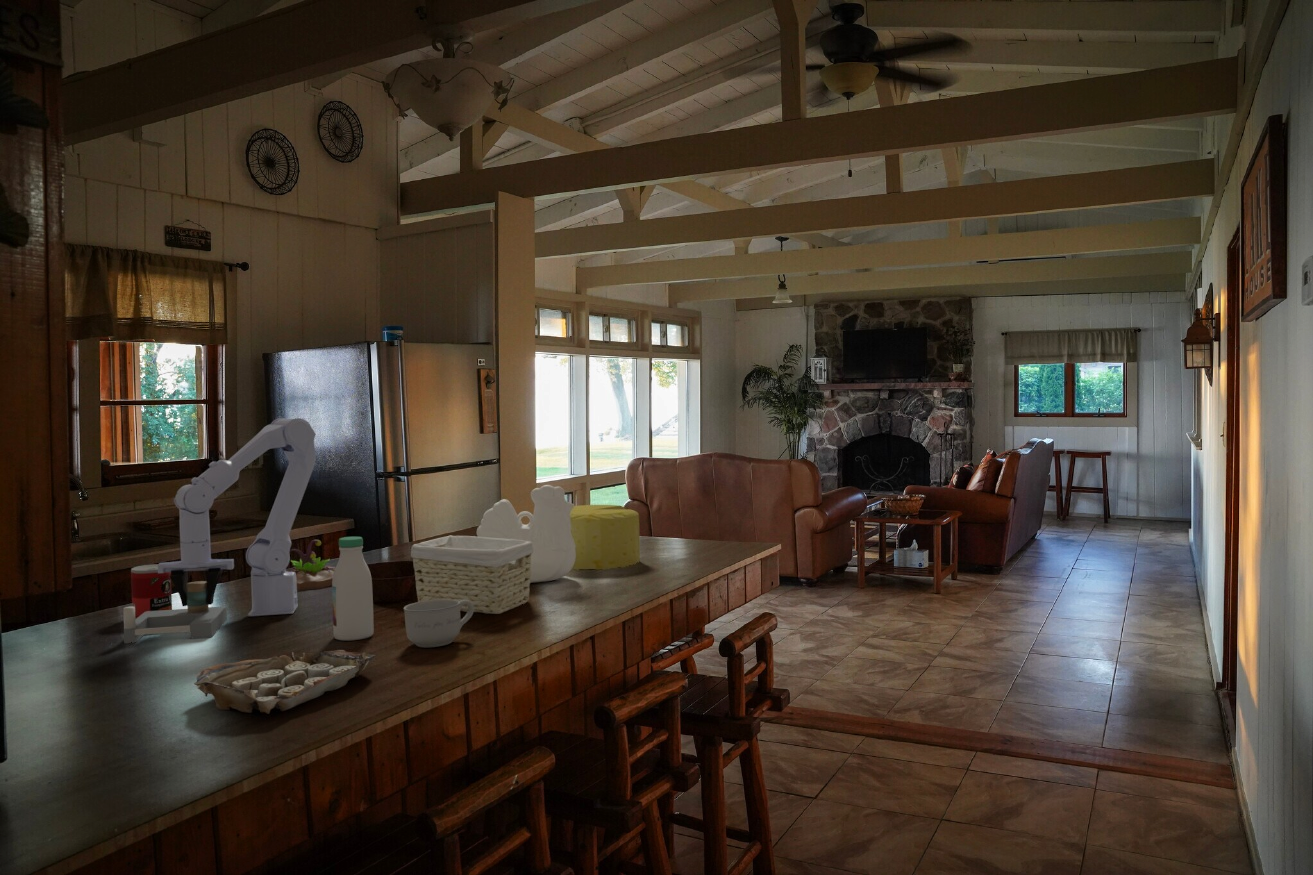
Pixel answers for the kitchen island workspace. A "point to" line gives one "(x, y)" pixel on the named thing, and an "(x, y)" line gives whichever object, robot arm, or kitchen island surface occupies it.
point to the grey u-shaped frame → (172, 622)
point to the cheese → (605, 536)
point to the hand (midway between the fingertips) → (197, 604)
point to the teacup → (435, 621)
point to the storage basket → (474, 571)
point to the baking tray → (279, 679)
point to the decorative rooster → (537, 531)
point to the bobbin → (197, 597)
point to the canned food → (150, 589)
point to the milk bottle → (352, 593)
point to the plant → (312, 570)
